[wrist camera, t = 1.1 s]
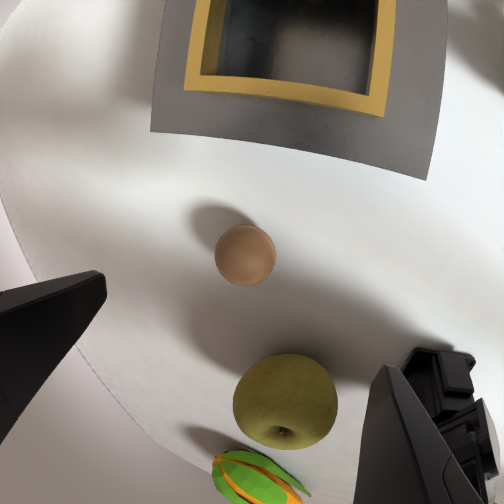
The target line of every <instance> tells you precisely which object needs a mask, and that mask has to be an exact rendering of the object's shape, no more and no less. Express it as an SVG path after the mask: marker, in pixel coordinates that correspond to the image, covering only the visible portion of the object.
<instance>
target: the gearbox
mask: <svg viewBox="0 0 504 504" xmlns="http://www.w3.org/2000/svg"><path fill="white" fill-rule="evenodd" d="M446 44H447V0H166V6H165V11H164V17H163V22H162V28H161V35H160V41H159V48H158V55H157V63H156V71H155V80H154V90H153V101H152V113H151V126H150V132H160V133H174V134H186V135H197V136H207V137H216V138H224V139H232V140H240V141H247V142H254V143H261V144H267V145H274V146H280V147H285V148H291V149H297V150H302V151H307V152H312V153H318V154H322V155H327V156H332V157H337V158H341V159H346V160H350V161H354V162H358V163H363V164H367V165H371V166H375V167H379V168H382V169H386V170H390V171H394V172H397V173H401V174H404V175H408V176H411V177H415V178H418V179H421V180H425V181H426V178H427V174H428V170H429V165H430V161H431V156H432V151H433V146H434V141H435V136H436V130H437V125H438V119H439V112H440V105H441V98H442V90H443V81H444V71H445V60H446Z"/></svg>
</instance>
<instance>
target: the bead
mask: <svg viewBox="0 0 504 504" xmlns="http://www.w3.org/2000/svg"><path fill="white" fill-rule="evenodd" d="M275 257H276V254H275V247H274V244H273V242H272V240H271V239H270V237H269V236H268V235H267V234H266V233H265V232H264V231H263V230H261V229H259V228H257V227H255V226H251V225H240V226H236V227H233V228H231V229H229V230H228V231H227V232H225V233H224V234H223V235H222V236H221V238H220V239H219V241H218V243H217V246H216V249H215V261H216V265H217V268H218V270H219V271H220V273H221V274H222V275H223V277H224V278H226V279H227V280H228V281H230V282H232V283H234V284H237V285H241V286H249V285H254V284H257V283H259V282H261V281H262V280H264V279H265V278H266V277H267V276H268V275H269V274H270V272H271V270H272V269H273V266H274V263H275Z"/></svg>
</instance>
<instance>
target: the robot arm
mask: <svg viewBox="0 0 504 504" xmlns="http://www.w3.org/2000/svg"><path fill="white" fill-rule="evenodd" d="M106 298H107V288H106V279H105V276H104V274H103V273H101V272H98V271H96V270H92V271H87V272H83V273H78V274H74V275H69V276H65V277H61V278H56V279H52V280H48V281H43V282H39V283H35V284H31V285H26V286H23V287H18V288H14V289H10V290H5V291H4V292H3V291H1V292H0V445H1V443H2V442H3V440H4V439H5V437H6V436H7V434H8V433H9V431H10V430H11V428H12V427H13V425H14V424H15V423H16V421H17V420H18V417H20V415H21V414H22V412H23V411H24V409H25V408H26V407H27V405H28V404H29V403H30V401H31V400H32V398H33V397H34V396H35V394H36V393H37V392H38V390H39V389H40V388H41V386H42V385H43V383H44V382H45V381H46V380H47V378H48V377H49V376H50V374H51V373H52V372H53V370H54V369H55V368H56V367H57V365H58V364H59V363H60V362H61V360H62V359H63V358H64V357H65V355H66V354H67V352H68V351H69V350H70V349H71V348H72V346H73V345H74V344H75V343H76V342H77V340H78V339H79V338H80V337H81V335H82V334H83V333H84V331H85V330H86V329H87V327H88V326H89V324H90V323H91V321H92V320H93V318H94V317H95V315H96V314H97V312H98V311H99V309H100V308H101V306H102V305H103V304H104V302H105V301H106ZM418 353H420V354H418ZM416 354H418V355H416ZM475 364H476V361H475V358H474V357H472V356H466V355H460V354H454V353H448V352H442V351H435V350H430V349H424V348H415V349H414V350H413V351H412V352H411V354H410V356H409V358H408V359H407V361H406V363H405V365H404V366H403V368H402V370H401V371H400V370H399V368H398V367H397V366H393V365H389V364H385V365H383V366H382V368H381V369H380V371H379V373H378V374H377V376H376V377H375V379H374V381H373V382H372V384H371V387H370V392H369V398H368V404H367V409H366V415H365V420H364V425H363V430H362V437H361V447H360V457H359V466H358V474H357V481H356V488H355V495H354V501H353V504H493V503H494V500H495V488H494V481H493V477H495V476H497V475H499V474H500V448H499V442H498V438H497V434H496V430H495V426H494V423H493V420H492V418H491V416H490V414H489V411H488V409H487V407H486V405H485V403H484V400H483V398H480V399H478V400H477V401H476V402H475V401H474V397H473V393H474V387H473V384H472V380H471V377H470V374H469V373H470V371H471V370H472V368H473V367H474V365H475Z"/></svg>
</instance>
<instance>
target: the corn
mask: <svg viewBox="0 0 504 504" xmlns="http://www.w3.org/2000/svg"><path fill="white" fill-rule="evenodd" d="M212 467H213V470H212V478H213V481H214V483H215V486H216V489H217V490H218V491H219V492H220V493H221V494H223V495H224V496H225V497H226V498H228V499H229V500H230V501H231V502H232V503H234V504H304V503H303V501H302V499H301V497H300V496H299V495H298V494H297V493H296V492H295V491H294V490H293V489H292V488H291V487H290V486H289V485H287V484H286V483H285V482H283V481H282V480H281V479H283V480H285V481H286V482H288V483H290V484H291V485H293V486H294V487H296V488H298V489H299V490H301V491H302V492H304V493H305V494H307V495H308V496H309V497H312V495H311V494H310V493H309V492H308V491H307V490H306V489H305V488H304V487H303V486H302V485H301V484H300V483H298V482H297V481H296V480H295V479H293V478H292V477H291V476H290V475H288V474H287V473H286V472H284V471H283V470H282V469H281V468H280V467H278V466H277V465H276V464H275V463H273V462H272V461H271V460H270V459H268V458H266V457H264V456H263V455H261V454H259V453H254V452H248V451H242V450H239V451H226V452H223V453H221V454H219V455H217V456H216V457H215V460H214V461H213V463H212ZM276 475H277V476H278V477H280V478H281V479H280V478H278V477H277V476H276Z"/></svg>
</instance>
